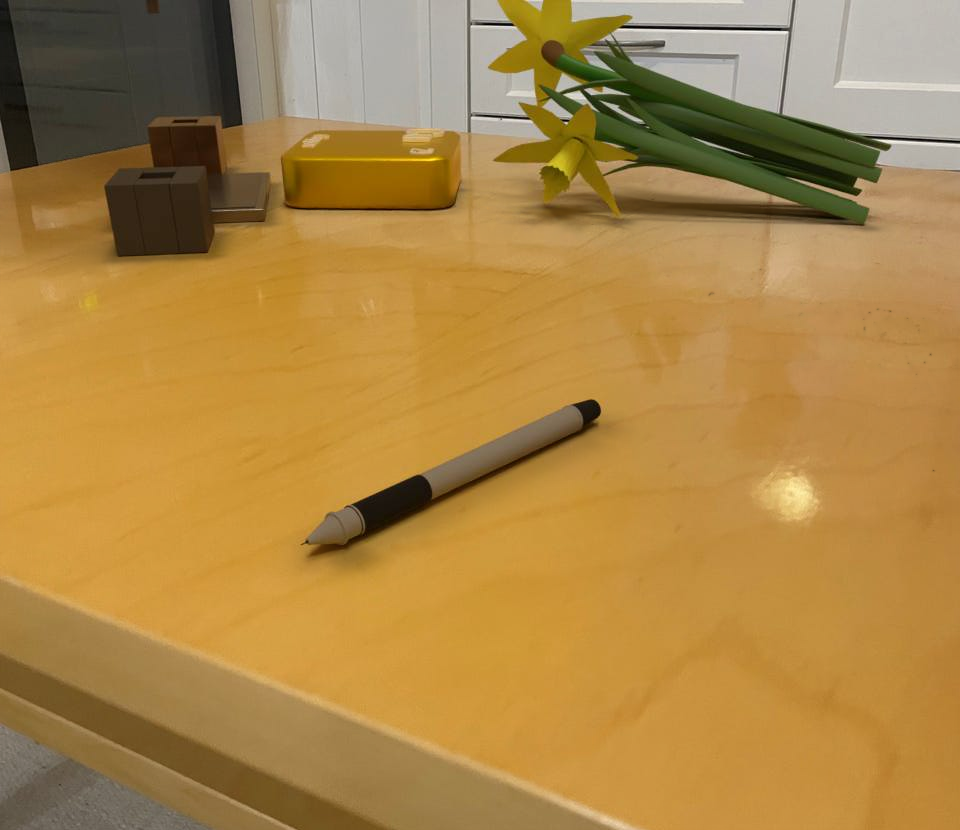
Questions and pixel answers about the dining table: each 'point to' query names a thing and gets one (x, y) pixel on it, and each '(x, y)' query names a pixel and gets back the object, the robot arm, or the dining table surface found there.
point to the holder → (160, 210)
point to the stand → (188, 142)
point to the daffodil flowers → (667, 122)
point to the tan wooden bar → (152, 6)
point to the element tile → (373, 169)
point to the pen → (451, 474)
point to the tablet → (239, 196)
